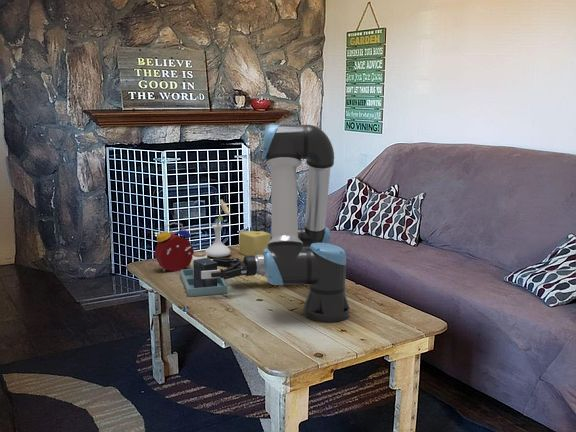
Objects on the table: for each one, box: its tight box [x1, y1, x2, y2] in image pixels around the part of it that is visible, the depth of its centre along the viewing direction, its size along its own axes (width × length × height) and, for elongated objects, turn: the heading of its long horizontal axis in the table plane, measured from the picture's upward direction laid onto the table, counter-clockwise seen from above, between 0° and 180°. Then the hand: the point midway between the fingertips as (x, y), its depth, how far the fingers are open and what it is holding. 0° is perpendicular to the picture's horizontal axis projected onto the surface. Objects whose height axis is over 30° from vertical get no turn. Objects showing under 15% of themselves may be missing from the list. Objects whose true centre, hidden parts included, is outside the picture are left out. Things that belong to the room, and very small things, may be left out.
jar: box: [191, 251, 208, 278], centre depth 226 cm, size 6×6×10 cm
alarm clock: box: [153, 222, 195, 272], centre depth 235 cm, size 15×9×20 cm, turn 123°
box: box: [192, 257, 218, 288], centre depth 214 cm, size 8×6×11 cm
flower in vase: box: [204, 199, 232, 258], centre depth 258 cm, size 13×11×25 cm
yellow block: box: [238, 230, 271, 256], centre depth 262 cm, size 10×11×10 cm
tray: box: [179, 268, 229, 298], centre depth 220 cm, size 24×14×3 cm, turn 17°
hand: (198, 269), depth 212 cm, fingers open, 13 cm apart
